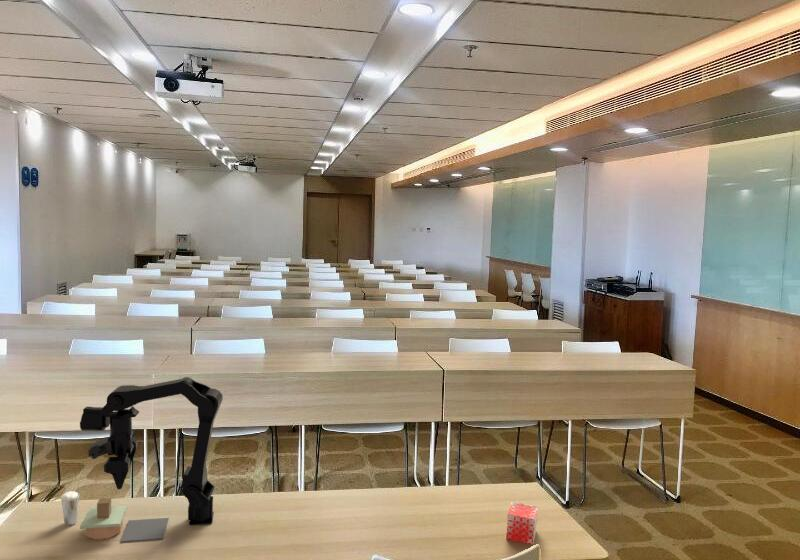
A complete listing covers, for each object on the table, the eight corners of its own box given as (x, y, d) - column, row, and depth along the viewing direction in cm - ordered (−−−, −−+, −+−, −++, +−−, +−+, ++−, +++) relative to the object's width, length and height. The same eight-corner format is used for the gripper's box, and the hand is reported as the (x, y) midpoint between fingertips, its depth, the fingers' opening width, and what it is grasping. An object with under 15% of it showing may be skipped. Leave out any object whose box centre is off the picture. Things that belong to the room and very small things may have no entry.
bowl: (124, 522, 178) (124, 509, 177) (118, 538, 169) (118, 525, 169) (91, 524, 176) (91, 511, 175) (83, 541, 167) (82, 527, 167)
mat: (168, 519, 181) (168, 517, 181) (163, 539, 170) (163, 538, 170) (128, 521, 178) (128, 520, 178) (120, 542, 168) (120, 541, 167)
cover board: (127, 508, 178) (126, 491, 177) (119, 526, 168) (119, 508, 168) (89, 510, 176) (89, 493, 175) (80, 528, 166) (79, 511, 165)
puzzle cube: (533, 545, 177) (535, 519, 176) (506, 539, 179) (507, 513, 178) (536, 531, 184) (538, 506, 183) (510, 525, 187) (511, 501, 186)
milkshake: (74, 528, 173) (73, 495, 172) (58, 525, 174) (57, 492, 173) (85, 520, 178) (85, 488, 176) (69, 517, 179) (69, 485, 177)
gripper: (97, 420, 182) (98, 470, 185) (82, 445, 165) (84, 499, 167) (137, 418, 185) (138, 467, 187) (127, 442, 168) (128, 495, 170)
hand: (122, 481), depth 178 cm, fingers open, 9 cm apart
